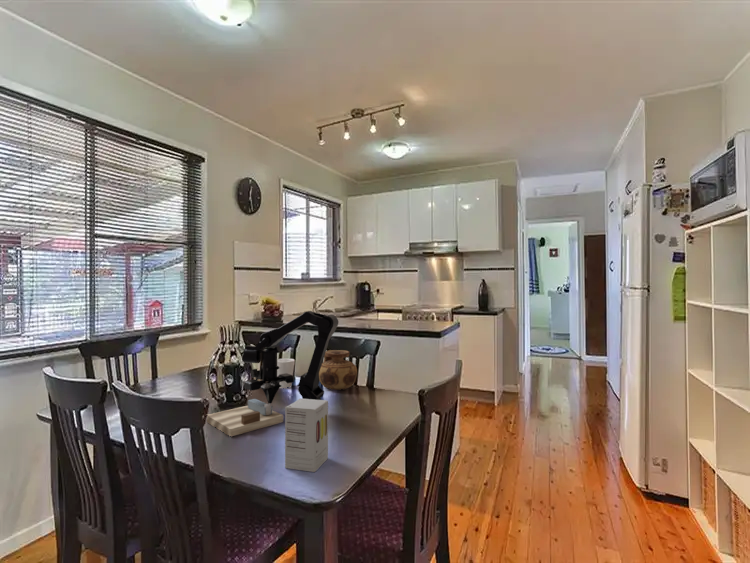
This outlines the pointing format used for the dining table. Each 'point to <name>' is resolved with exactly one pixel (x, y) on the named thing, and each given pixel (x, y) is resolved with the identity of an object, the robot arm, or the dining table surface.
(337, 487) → the dining table surface
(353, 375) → the clay pot
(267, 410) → the hinged leg
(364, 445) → the dining table surface
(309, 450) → the supplement box
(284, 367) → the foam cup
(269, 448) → the dining table surface
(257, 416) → the block
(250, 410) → the stool seat
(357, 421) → the dining table surface
